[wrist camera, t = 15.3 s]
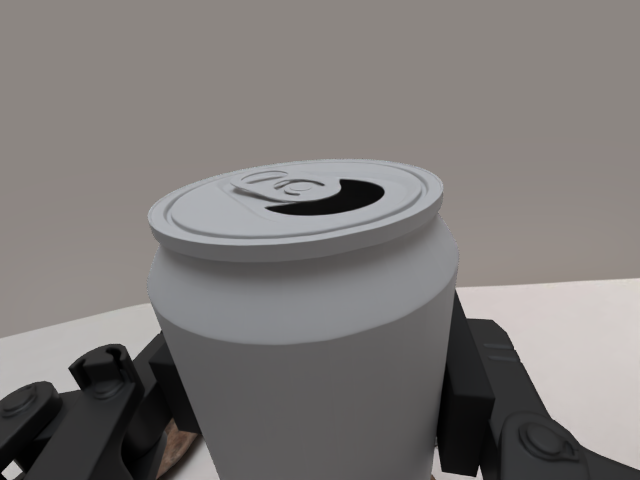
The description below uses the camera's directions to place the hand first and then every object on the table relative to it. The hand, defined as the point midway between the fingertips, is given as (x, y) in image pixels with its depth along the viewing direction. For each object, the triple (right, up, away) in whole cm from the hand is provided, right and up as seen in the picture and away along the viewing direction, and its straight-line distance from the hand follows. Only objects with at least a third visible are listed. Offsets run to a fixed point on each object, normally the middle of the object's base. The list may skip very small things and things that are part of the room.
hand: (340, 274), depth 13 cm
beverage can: (0, -8, -2) cm, 8 cm away
